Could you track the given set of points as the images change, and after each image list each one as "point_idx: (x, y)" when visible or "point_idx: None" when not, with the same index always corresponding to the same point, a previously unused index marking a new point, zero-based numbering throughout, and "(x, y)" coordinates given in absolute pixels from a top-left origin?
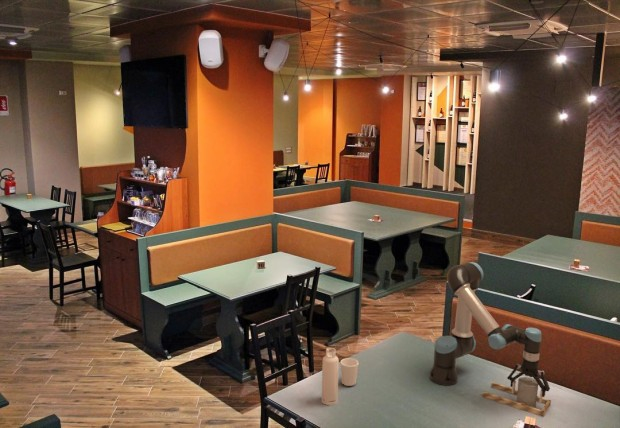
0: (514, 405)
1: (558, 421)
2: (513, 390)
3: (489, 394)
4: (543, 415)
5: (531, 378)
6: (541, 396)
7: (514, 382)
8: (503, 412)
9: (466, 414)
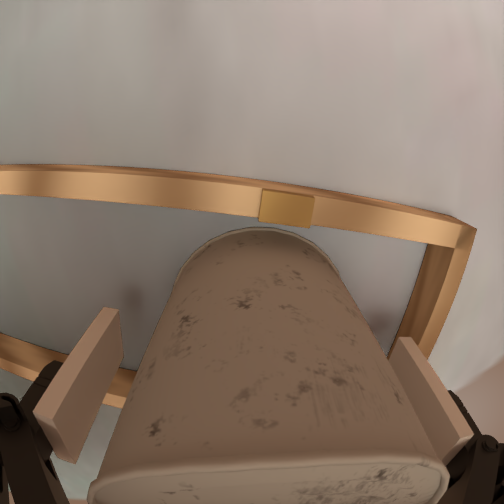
0: None
1: (450, 389)
2: (109, 386)
3: (14, 373)
4: None
5: (343, 465)
6: None
7: (72, 457)
8: None
9: (62, 473)
